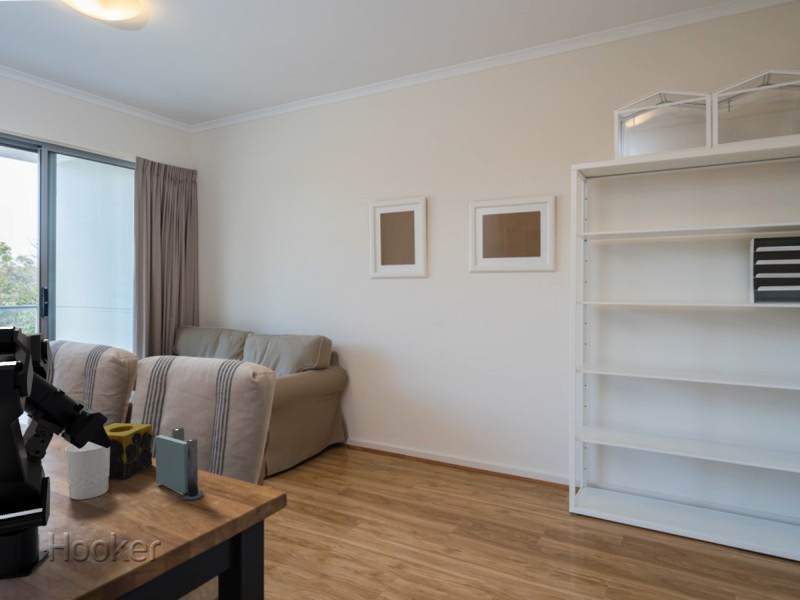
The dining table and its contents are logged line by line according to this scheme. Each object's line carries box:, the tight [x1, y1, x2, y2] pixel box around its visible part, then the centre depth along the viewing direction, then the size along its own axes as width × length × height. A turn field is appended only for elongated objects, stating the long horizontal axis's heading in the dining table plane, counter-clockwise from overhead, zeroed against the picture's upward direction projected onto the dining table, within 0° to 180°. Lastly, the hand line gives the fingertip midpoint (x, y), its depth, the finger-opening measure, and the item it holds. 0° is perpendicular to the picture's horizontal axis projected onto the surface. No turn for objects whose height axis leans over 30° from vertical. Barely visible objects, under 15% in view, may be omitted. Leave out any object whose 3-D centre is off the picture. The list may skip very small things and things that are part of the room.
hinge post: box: [181, 438, 204, 502], centre depth 101 cm, size 4×4×12 cm
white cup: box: [64, 441, 110, 501], centre depth 103 cm, size 8×8×10 cm
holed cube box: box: [103, 422, 153, 481], centre depth 115 cm, size 10×10×10 cm
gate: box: [155, 434, 188, 493], centre depth 104 cm, size 10×1×10 cm, turn 57°
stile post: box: [171, 426, 185, 441], centre depth 109 cm, size 3×3×12 cm
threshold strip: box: [169, 488, 185, 495], centre depth 105 cm, size 10×2×1 cm, turn 50°
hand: (109, 445), depth 95 cm, fingers closed
